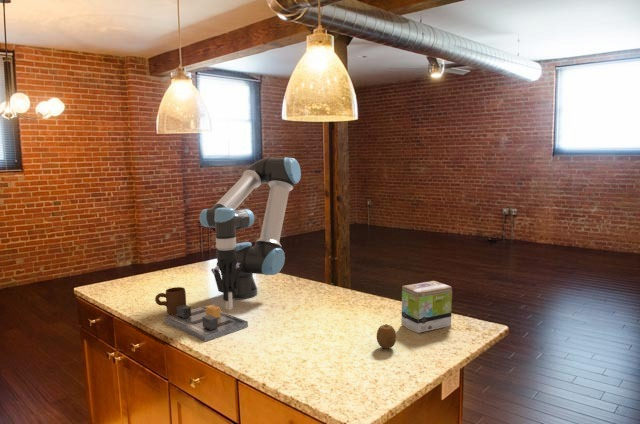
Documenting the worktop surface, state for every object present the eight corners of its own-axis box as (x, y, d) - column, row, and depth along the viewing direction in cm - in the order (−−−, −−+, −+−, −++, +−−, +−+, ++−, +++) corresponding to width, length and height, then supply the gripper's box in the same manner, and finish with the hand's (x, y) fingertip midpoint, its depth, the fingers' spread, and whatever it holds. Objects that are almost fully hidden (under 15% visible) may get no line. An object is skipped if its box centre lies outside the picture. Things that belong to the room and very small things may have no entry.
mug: (159, 319, 181) (158, 295, 180) (153, 314, 187) (151, 291, 186) (189, 312, 188) (188, 289, 187) (182, 308, 194) (181, 285, 193)
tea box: (418, 334, 160) (419, 292, 159) (400, 325, 169) (400, 285, 167) (452, 326, 167) (452, 285, 165) (433, 317, 176) (433, 279, 174)
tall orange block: (213, 313, 180) (212, 304, 179) (220, 316, 176) (220, 307, 176) (206, 315, 177) (205, 306, 177) (213, 318, 174) (213, 309, 174)
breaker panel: (205, 310, 191) (205, 296, 190) (248, 326, 171) (247, 311, 170) (164, 322, 178) (163, 307, 177) (204, 341, 158) (203, 325, 158)
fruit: (383, 354, 145) (382, 329, 144) (373, 346, 151) (372, 322, 150) (400, 350, 148) (400, 325, 147) (389, 343, 154) (389, 319, 153)
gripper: (234, 244, 186) (237, 302, 189) (206, 249, 177) (209, 310, 180) (246, 246, 181) (248, 306, 184) (217, 252, 172) (220, 314, 174)
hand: (229, 308), depth 182 cm, fingers closed
